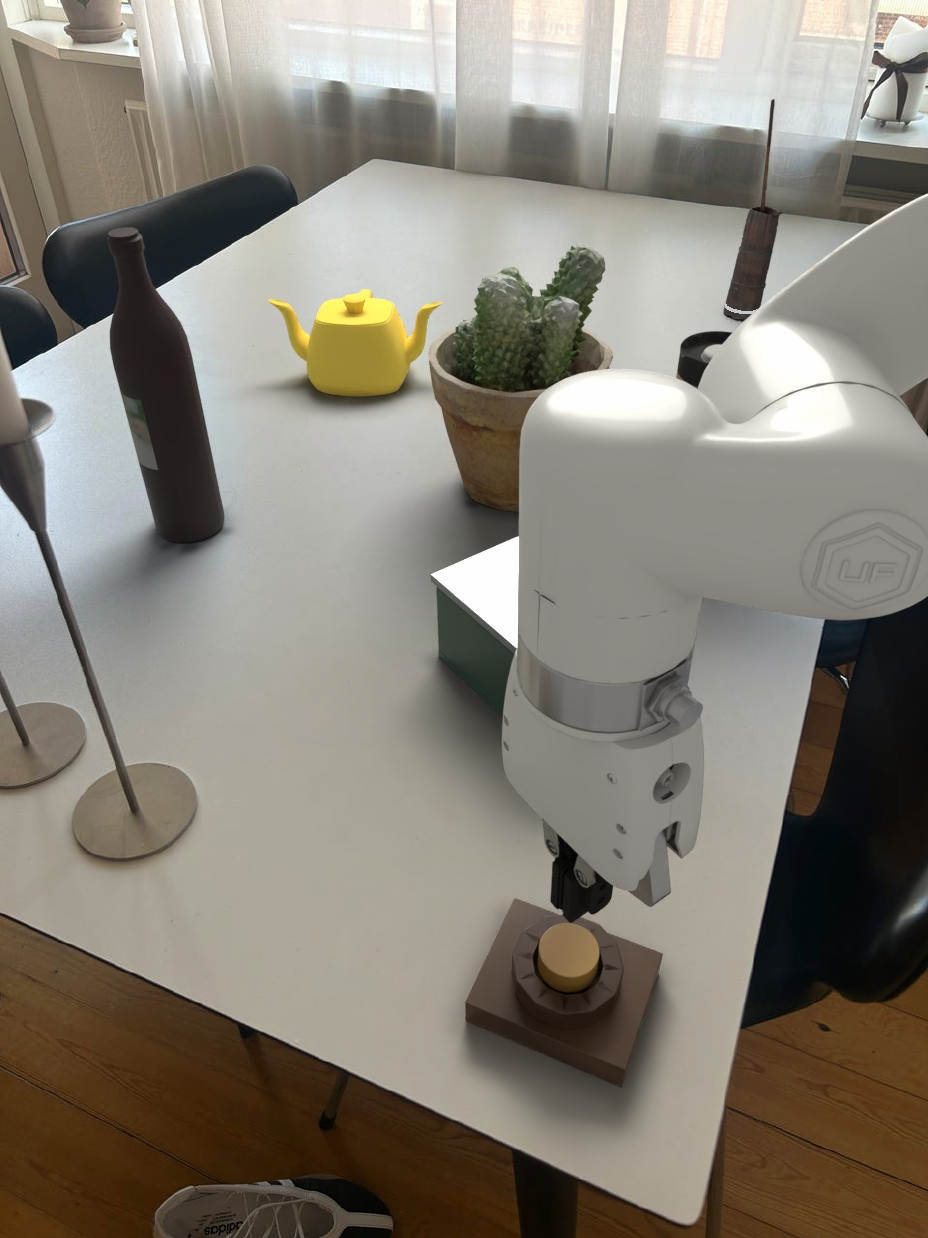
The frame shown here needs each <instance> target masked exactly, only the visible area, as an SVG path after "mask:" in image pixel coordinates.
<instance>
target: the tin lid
mask: <svg viewBox="0 0 928 1238" xmlns="http://www.w3.org/2000/svg"><path fill="white" fill-rule="evenodd" d="M518 559H519V535H518V536H515V537H512V538H511V539H508V540H505V541H504V542H502V543H499V544H497V545H495V546H492V547H490V548H488V549H486V550H483V551H481V552H478V553H476V554H474V555H471V556H470V557H467V558H465V559H463V560H460V561H458V562H456V563H453V564H451V565H449V566H446V567H443V568H442V569H440V570H438V571H435V572H432V573H430V583H432V584H433V585H434V586H435V587H438V588H439V589H440V590H441V591H442V592H443V593H444V594H446V595H447V596H448V597H449V598H450V599H451V600H453V601H454V602H455V603H456V604H457V605H458V606H459V607H461V608H462V609H463V610H464V611H465V612H466V613H467V614H469V615H470V616H471V617H472V618H473V619H474V620H476V621H477V622H478V623H479V624H480V625H481V626H482V627H484V628H485V629H486V630H487V631H488V632H489V633H491V634H492V635H493V636H494V637H495V638H496V639H497V640H499V641H500V642H501V643H502V644H503V645H504V646H505V647H507V648H508V649H509V650H510V651H511V652H512V653H514V654H515V651H516V649H517V625H518V620H517V615H518Z"/></svg>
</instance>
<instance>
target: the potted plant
mask: <svg viewBox="0 0 928 1238" xmlns="http://www.w3.org/2000/svg"><path fill="white" fill-rule="evenodd" d="M605 272H606V261H605V258H604V256H603V255H602V254H601V253H599V252H598V251H597V250H596V249H594V248H593V247H591V246H590V245H588V244H586V243H584V242H580V243H579V242H578V243H576V245H571V246H570V249H568V250H567V251H566V252H565V255H564V256H562V257H560V261H559V262H558V269H557V270H554V271H553V273H554V274H553V276H554V278H553V277H552V278H551V283H545V286H546V289H544V288H543V289H541V288H539V293H540V296H537V295H536V296H534V295H533V292H534V289H533V287H531V286H530V283H529V281H526V280H525V278H524V277H523V276H522V275H521V274H520V269H518V268H517V267H515V266H509V267H503V268H502V270H500V271H499V272H497V273H496V274H493V275H487V276H485V277H484V278H482V279H481V283H480V284H479V285H478V286H477V292H478V293H477V294H476V295H475V297H474V299H473V301H474V304H475V307H473V310H474V311H475V312H476V315H475V316H473V317H470V318H468V319H462V322H460V323H459V324H458V325H457V326H455V328H452V329H449V330H447V331H446V332H444V333H443V334H441V335H440V336H438V337H437V338H435V340H433V342H432V343H431V345H430V346H429V350H428V352H427V358H428V364H429V365H428V366H429V373H430V379H431V384H432V391H433V395H434V400H435V401H436V402H437V404H438V405H439V407H440V409H441V413H442V419H443V423H444V426H445V431H446V434H447V437H448V441H449V443H450V446H451V447H450V448H451V449H452V453H453V456H454V459H455V463H456V465H457V468H458V471H459V475H460V478H461V481H462V483H463V487H464V488H465V489H464V490H465V491H466V492H467V494H468V495H469V496H470V498H471V499H472V501H473V502H476V503H479V504H481V505H484V506H488V507H490V508H492V509H495V510H498V511H502V512H503V511H504V512H513V513H519V455H520V439H521V430H522V426H523V423H524V420H525V417H526V415H527V412H528V410H529V409H530V407H531V406H532V404H533V403H534V401H535V400H536V399H537V398H538V397H539V395H541V394H542V393H543V392H544V391H545V390H546V389H548V388H549V387H551V386H553V385H554V384H556V383H558V382H560V381H561V380H563V379H565V378H568V377H571V376H574V375H577V374H580V373H584V372H589V371H595V370H603V369H610V366H611V364H612V361H613V359H614V355H613V353H614V352H613V350H612V349H611V346H610V345H609V344H608V343H606V342H605V341H604V340H603V339H602V338H601V337H599V336H598V335H597V334H596V333H594V332H593V331H591V330H588V329H586V328H585V321H586V320H587V318H588V317H589V316H590V314H591V313H592V312H593V309H592V308H591V307H589V305H590V304H592V303H593V302H594V300H593V299H594V298H595V296H594V294H596V292H598V290H599V288H598V286H597V285H598V284H600V283H602V281H603V274H604V273H605Z"/></svg>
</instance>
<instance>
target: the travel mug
mask: <svg viewBox="0 0 928 1238" xmlns="http://www.w3.org/2000/svg"><path fill="white" fill-rule="evenodd" d="M733 332H734V331H732V332H731V331H723V330H710V331H702V332H697V333H694V334H691V335H689V336H687V337H686V338H684V339H683V340H682V342H681V343H680V346H679V347H680V348H679V355H678V356H679V357H678V362H677V369H676V375H675V378H677V379H679V380H682V381H684V382H686V383H688V384H690V385H692V386H693V387H695V388H696V389H698V386H699V383H700V381H701V378H702V375H703V373H704V371H705V369H706V367H707V366H708V364H709V362H710V361H711V359H712V358H713V356H714V354H715V353H716V351H717V350H718V349H719V348H720V346H721V345H722V344H723V343H724V342H725V341H726V340H727V338H728V337H729V336H730V335H731V334H732V333H733Z"/></svg>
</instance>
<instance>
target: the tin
mask: <svg viewBox="0 0 928 1238" xmlns="http://www.w3.org/2000/svg"><path fill="white" fill-rule="evenodd" d="M435 587H436V586H435ZM435 589H436V613H437V614H436V615H437V616H436V617H437V619H436V620H437V639H438V640H437V643H438V645H437V647H438V649H437V650H438V657H439V659H441V660H442V661H443V662H444V663H445V664H447V666H448V667H450V669H451V670H452V671H453V672H454V673H455V674H456V675H458V676H459V677H460V678H461V680H463V681H464V682H465V683H466V684H467V685H468V686H469V687H470V688H471V689H472V690H474V692H475V693H476V694H478V695H479V697H481V698H482V699H483V700H484V702H486V703H487V704H488V705H489V706H490V707H492V709H493V710H494V711H495V712H496V713H498V715H500V716H501V717H502V718H503V709H504V701H505V693H506V687H507V682H508V677H509V673H510V668H511V664H512V661H513V658H514V653H512V652H511V651H510V650H509V649H508V648H507V647H505V646H504V645H503V644H502V643H501V642H500V641H499V640H497V639H496V638H495V637H494V636H493V635H492V634H491V633H489V632H488V631H487V630H486V629H485V628H484V627H482V626H481V625H480V624H479V623H478V622H477V621H476V620H474V619H473V618H472V617H471V616H470V615H469V614H467V613H466V612H465V611H464V610H463V609H462V608H461V607H459V606H458V605H457V604H456V603H455V602H454V601H453V600H451V599H450V598H449V597H448V596H447V595H446V594H444V593H443V592H442V591H441V590H440V589H439V588H438V587H436V588H435Z"/></svg>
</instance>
